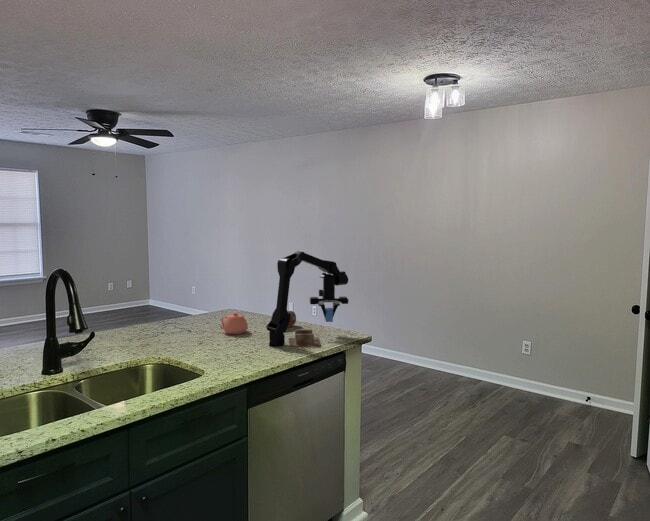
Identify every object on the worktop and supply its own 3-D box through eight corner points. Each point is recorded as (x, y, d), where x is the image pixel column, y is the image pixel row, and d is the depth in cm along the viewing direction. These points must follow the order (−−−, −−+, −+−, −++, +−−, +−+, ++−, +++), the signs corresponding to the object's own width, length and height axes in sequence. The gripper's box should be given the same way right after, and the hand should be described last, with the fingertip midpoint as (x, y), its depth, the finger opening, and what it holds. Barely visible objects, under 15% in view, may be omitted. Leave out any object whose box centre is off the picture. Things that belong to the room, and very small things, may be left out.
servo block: (326, 322, 225) (326, 310, 224) (324, 318, 234) (324, 307, 233) (333, 322, 225) (333, 310, 225) (330, 318, 234) (331, 307, 234)
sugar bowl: (245, 336, 227) (245, 315, 226) (217, 335, 228) (216, 315, 227) (250, 330, 239) (249, 310, 238) (223, 329, 240) (222, 310, 239)
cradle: (289, 347, 208) (289, 336, 207) (288, 339, 222) (288, 328, 221) (320, 346, 210) (320, 335, 209) (317, 338, 223) (317, 328, 223)
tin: (277, 330, 238) (277, 314, 238) (273, 329, 240) (273, 313, 240) (296, 325, 250) (296, 310, 250) (292, 324, 252) (292, 309, 252)
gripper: (345, 283, 237) (344, 313, 238) (308, 284, 235) (308, 314, 236) (348, 287, 226) (348, 318, 227) (310, 287, 224) (310, 319, 225)
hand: (328, 317), depth 229 cm, fingers closed on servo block, 3 cm apart
